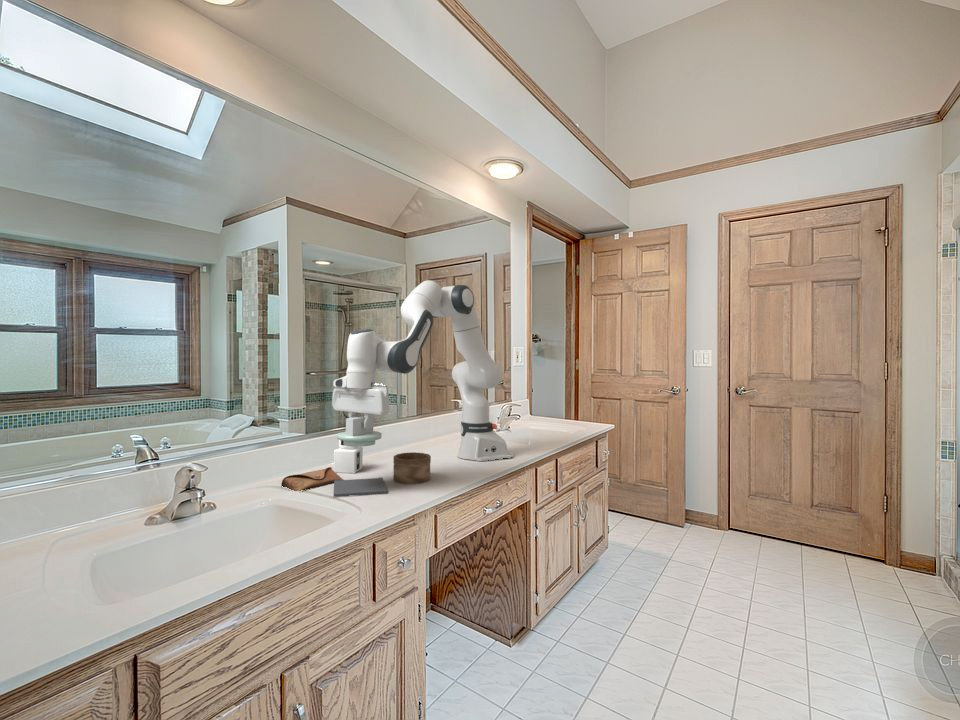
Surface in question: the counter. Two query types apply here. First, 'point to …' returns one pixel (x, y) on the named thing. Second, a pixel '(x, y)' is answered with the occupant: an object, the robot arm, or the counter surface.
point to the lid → (359, 433)
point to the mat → (359, 487)
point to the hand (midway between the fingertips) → (360, 427)
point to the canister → (411, 468)
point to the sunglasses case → (310, 479)
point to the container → (347, 458)
